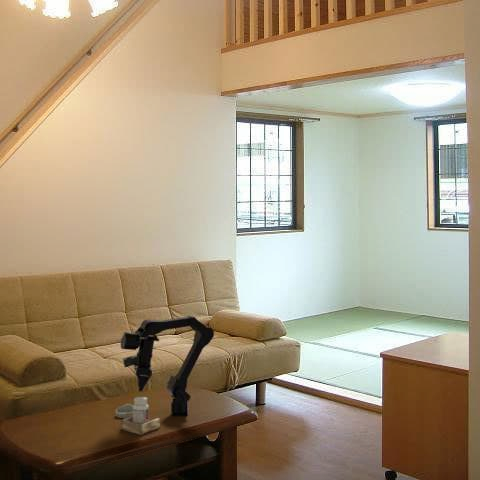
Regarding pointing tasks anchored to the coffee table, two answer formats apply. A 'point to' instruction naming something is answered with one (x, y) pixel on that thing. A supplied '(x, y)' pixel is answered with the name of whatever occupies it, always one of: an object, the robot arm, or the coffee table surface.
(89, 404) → the coffee table surface
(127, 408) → the wristwatch
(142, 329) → the robot arm
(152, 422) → the open tray
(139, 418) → the pill bottle
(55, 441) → the coffee table surface
